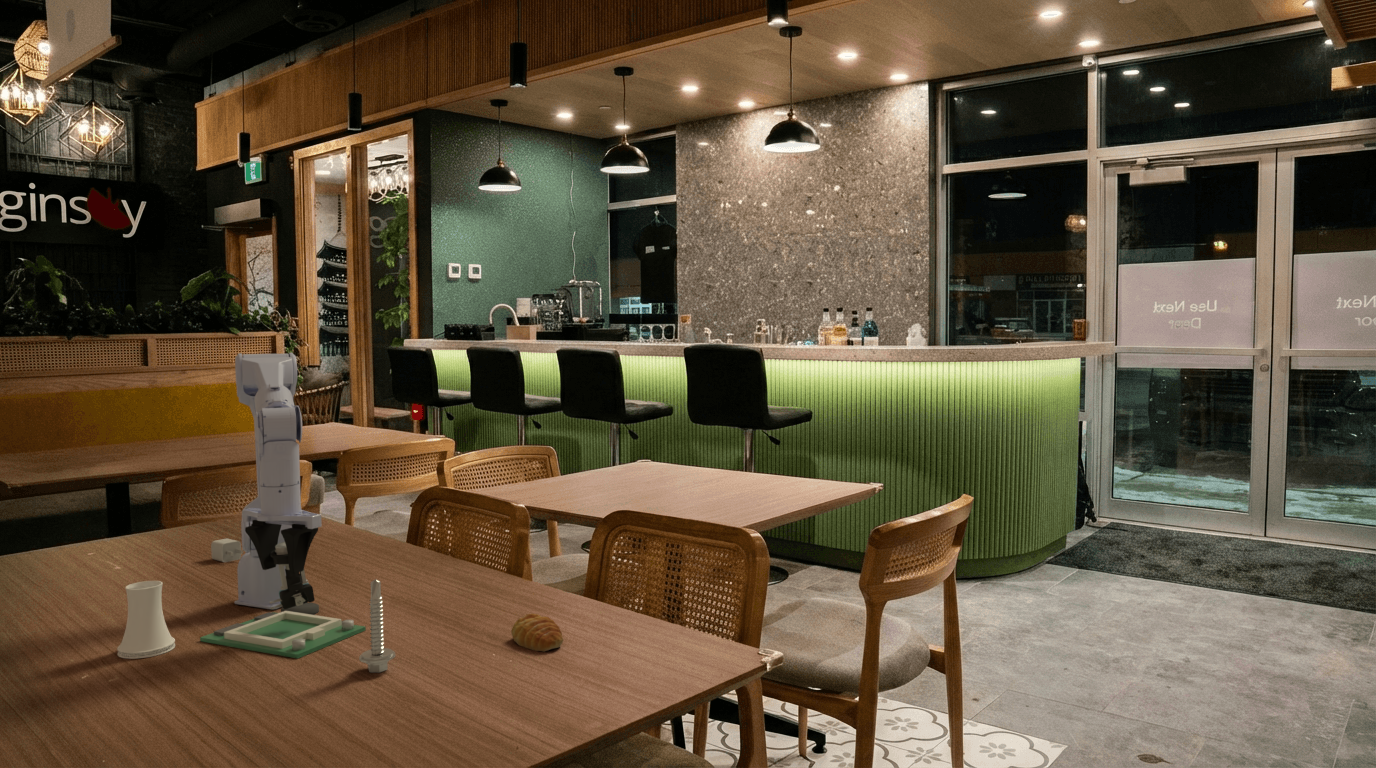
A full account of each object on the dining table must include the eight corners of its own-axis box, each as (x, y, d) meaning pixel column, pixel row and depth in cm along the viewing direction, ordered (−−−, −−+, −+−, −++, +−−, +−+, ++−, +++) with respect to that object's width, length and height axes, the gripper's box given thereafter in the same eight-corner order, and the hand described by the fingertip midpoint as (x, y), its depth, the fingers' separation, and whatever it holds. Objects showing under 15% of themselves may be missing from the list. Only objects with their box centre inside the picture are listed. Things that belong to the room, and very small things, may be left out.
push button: (275, 616, 145) (264, 555, 143) (267, 607, 149) (256, 547, 148) (319, 602, 149) (309, 543, 147) (310, 594, 153) (300, 535, 151)
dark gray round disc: (272, 617, 158) (272, 610, 158) (300, 608, 163) (300, 601, 163) (299, 622, 156) (299, 614, 155) (326, 611, 161) (326, 605, 161)
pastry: (574, 648, 142) (574, 623, 142) (534, 658, 138) (533, 632, 138) (545, 632, 149) (544, 608, 149) (506, 641, 145) (505, 617, 145)
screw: (403, 667, 133) (375, 678, 129) (380, 661, 136) (352, 671, 132) (400, 577, 132) (373, 585, 128) (377, 572, 135) (349, 580, 131)
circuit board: (200, 641, 145) (199, 629, 145) (272, 615, 158) (272, 605, 158) (297, 658, 137) (297, 646, 137) (365, 630, 150) (365, 619, 150)
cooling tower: (115, 662, 136) (112, 594, 135) (119, 646, 143) (116, 582, 142) (174, 653, 140) (172, 587, 139) (175, 639, 146) (173, 575, 146)
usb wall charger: (230, 556, 200) (229, 537, 200) (247, 560, 196) (247, 542, 196) (211, 560, 197) (211, 541, 196) (229, 564, 193) (228, 545, 192)
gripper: (224, 485, 145) (227, 571, 146) (295, 491, 140) (298, 581, 140) (261, 478, 152) (264, 561, 153) (330, 483, 146) (333, 569, 147)
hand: (283, 570), depth 147 cm, fingers closed on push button, 5 cm apart
